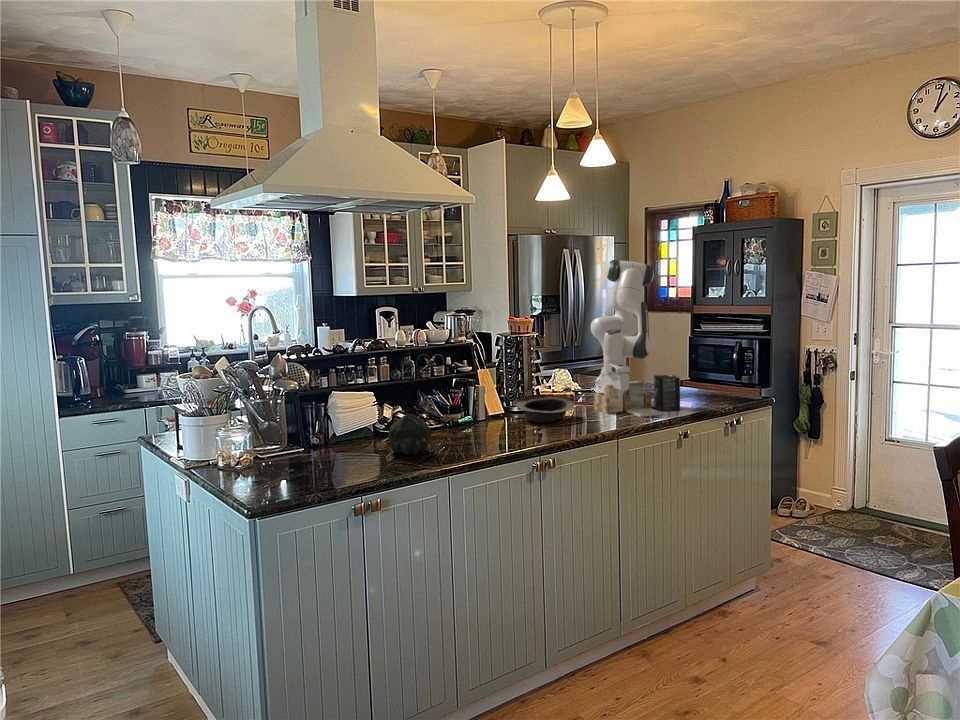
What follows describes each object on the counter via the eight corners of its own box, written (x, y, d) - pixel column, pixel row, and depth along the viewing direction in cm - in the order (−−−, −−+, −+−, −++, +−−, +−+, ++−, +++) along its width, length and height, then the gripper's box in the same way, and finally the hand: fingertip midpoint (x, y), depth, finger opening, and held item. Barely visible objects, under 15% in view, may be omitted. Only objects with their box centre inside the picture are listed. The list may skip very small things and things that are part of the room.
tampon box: (680, 410, 315) (680, 377, 313) (659, 411, 315) (659, 378, 313) (674, 406, 326) (674, 374, 324) (653, 406, 326) (653, 374, 324)
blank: (603, 410, 320) (603, 383, 319) (618, 409, 322) (617, 382, 321) (608, 412, 316) (608, 385, 314) (623, 411, 318) (622, 384, 317)
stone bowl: (541, 411, 323) (542, 390, 321) (586, 422, 305) (587, 400, 304) (502, 419, 306) (503, 397, 304) (548, 431, 288) (549, 408, 287)
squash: (411, 429, 266) (393, 404, 257) (444, 435, 258) (426, 409, 248) (393, 461, 259) (373, 436, 249) (425, 468, 251) (406, 442, 241)
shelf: (593, 408, 325) (593, 382, 324) (636, 404, 332) (636, 378, 330) (607, 413, 313) (606, 386, 311) (651, 409, 319) (651, 382, 318)
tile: (626, 412, 315) (626, 410, 315) (649, 410, 318) (649, 407, 318) (639, 416, 304) (639, 414, 304) (662, 414, 308) (662, 412, 308)
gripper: (596, 364, 325) (596, 395, 327) (618, 369, 306) (619, 402, 308) (609, 363, 327) (609, 394, 329) (632, 368, 308) (632, 400, 310)
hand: (614, 398), depth 318 cm, fingers open, 8 cm apart
